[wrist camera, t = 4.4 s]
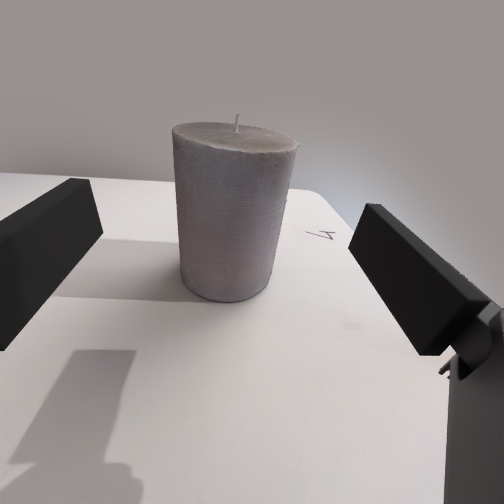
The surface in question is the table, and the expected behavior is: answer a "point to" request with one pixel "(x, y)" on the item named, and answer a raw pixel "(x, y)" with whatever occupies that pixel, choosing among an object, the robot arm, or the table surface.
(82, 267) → the table surface
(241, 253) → the pillar candle
